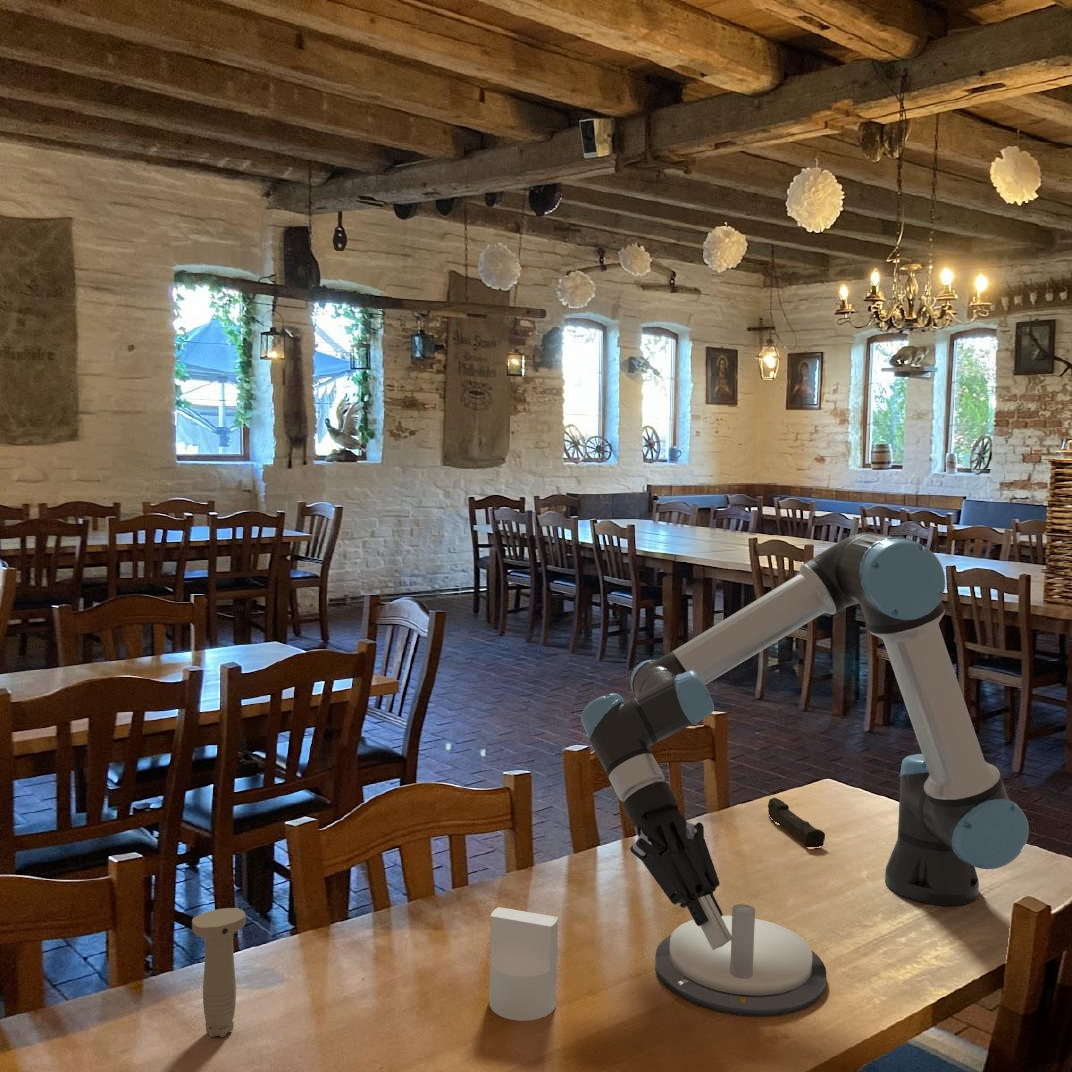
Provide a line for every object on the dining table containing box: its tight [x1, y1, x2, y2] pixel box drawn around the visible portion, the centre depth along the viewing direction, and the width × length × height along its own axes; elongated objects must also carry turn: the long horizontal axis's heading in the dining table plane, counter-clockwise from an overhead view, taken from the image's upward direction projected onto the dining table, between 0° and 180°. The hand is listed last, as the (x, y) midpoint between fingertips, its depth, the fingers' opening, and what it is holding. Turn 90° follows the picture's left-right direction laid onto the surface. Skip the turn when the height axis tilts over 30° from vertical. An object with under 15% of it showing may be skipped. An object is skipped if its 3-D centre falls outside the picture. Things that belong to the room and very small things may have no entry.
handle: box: [191, 907, 247, 1038], centre depth 134 cm, size 5×6×15 cm
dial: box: [670, 903, 813, 996], centre depth 152 cm, size 20×20×11 cm
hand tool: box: [767, 797, 826, 848], centre depth 209 cm, size 19×4×5 cm, turn 12°
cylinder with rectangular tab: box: [489, 906, 559, 1022], centre depth 142 cm, size 9×9×12 cm
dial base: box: [654, 933, 827, 1017], centre depth 152 cm, size 24×24×2 cm
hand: (722, 944), depth 146 cm, fingers closed
